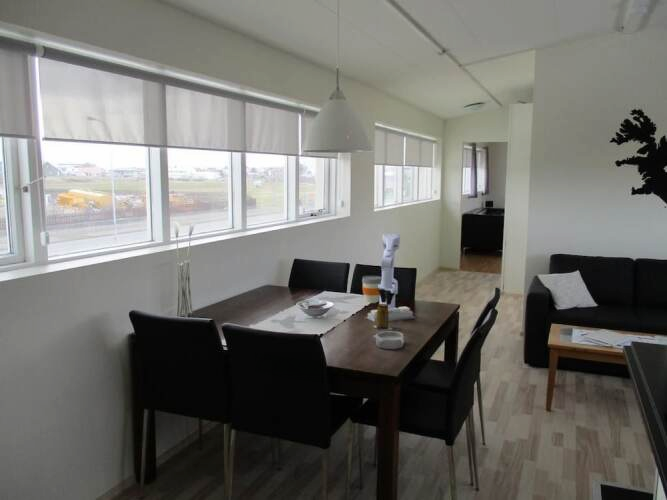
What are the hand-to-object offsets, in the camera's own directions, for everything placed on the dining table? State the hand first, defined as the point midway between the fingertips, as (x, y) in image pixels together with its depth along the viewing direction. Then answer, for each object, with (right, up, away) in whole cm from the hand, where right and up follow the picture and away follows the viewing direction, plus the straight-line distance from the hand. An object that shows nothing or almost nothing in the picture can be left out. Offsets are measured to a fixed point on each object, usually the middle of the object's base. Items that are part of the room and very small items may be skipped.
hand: (386, 303), depth 298 cm
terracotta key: (0, -7, +1) cm, 7 cm away
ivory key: (+11, -6, +6) cm, 14 cm away
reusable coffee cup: (-5, -3, +40) cm, 40 cm away
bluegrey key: (+5, -6, +4) cm, 9 cm away
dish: (-3, -15, -44) cm, 47 cm away
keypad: (+3, -8, +3) cm, 9 cm away
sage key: (-5, -7, -2) cm, 9 cm away
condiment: (-3, -11, -17) cm, 21 cm away
